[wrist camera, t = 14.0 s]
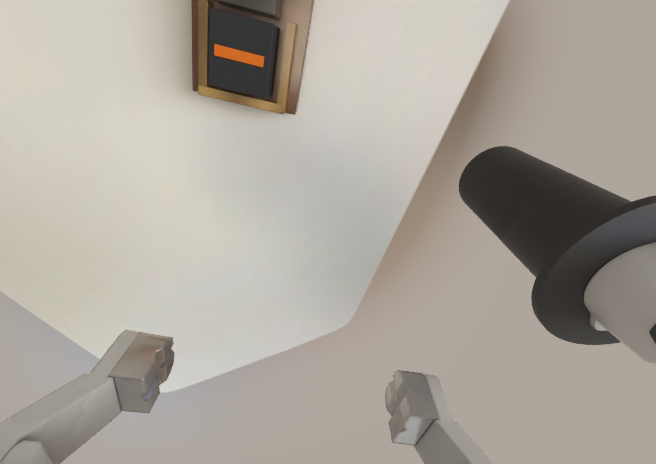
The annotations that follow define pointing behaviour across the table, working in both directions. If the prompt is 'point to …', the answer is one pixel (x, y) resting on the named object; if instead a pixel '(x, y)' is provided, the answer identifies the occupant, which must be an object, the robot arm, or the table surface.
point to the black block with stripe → (242, 53)
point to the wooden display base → (294, 23)
